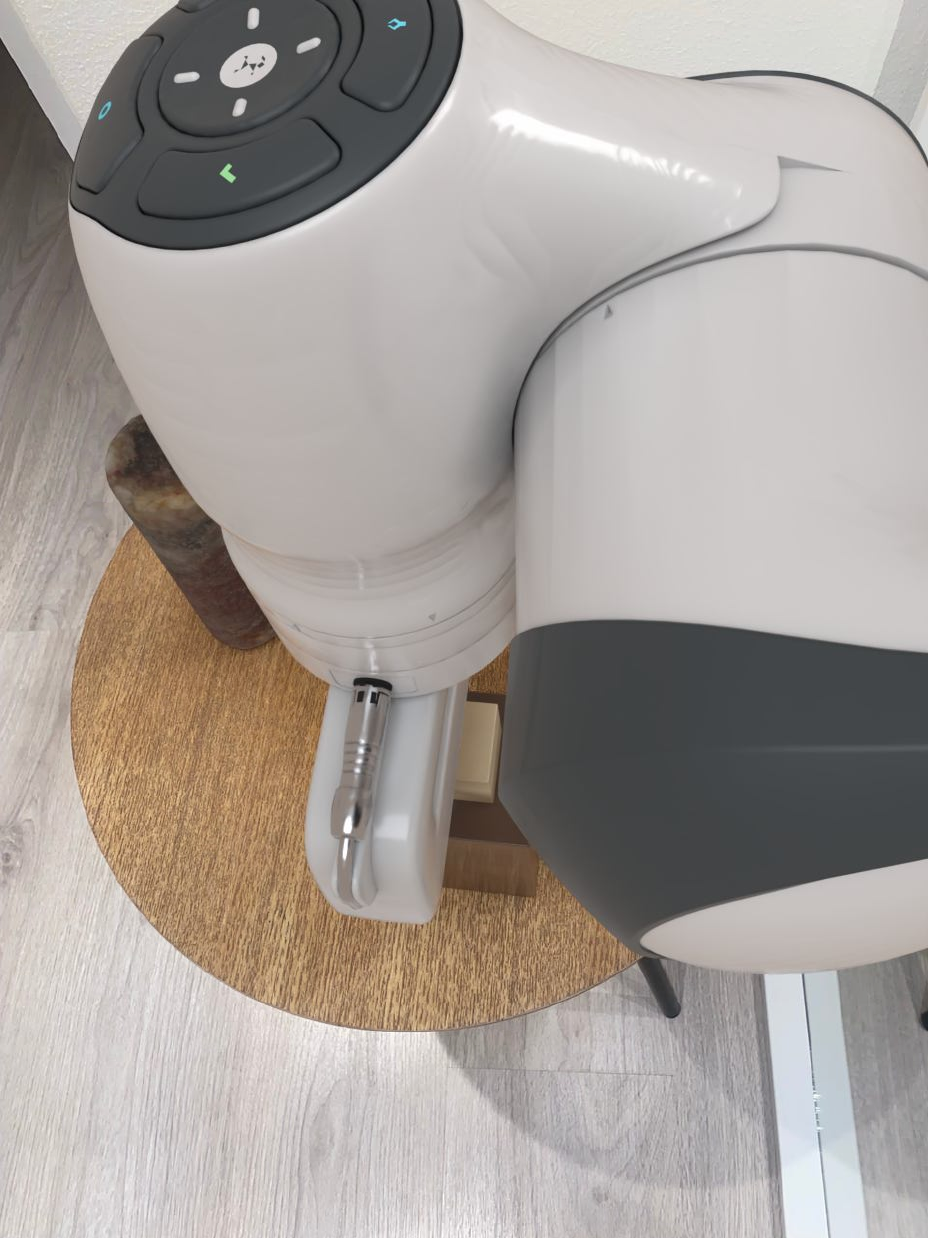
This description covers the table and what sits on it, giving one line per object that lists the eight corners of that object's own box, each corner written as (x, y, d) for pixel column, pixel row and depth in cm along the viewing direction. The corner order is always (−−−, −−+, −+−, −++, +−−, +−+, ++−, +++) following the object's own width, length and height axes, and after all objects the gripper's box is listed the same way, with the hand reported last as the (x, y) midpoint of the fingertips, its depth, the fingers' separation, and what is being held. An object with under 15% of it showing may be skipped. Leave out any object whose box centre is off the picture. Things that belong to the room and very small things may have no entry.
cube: (501, 729, 51) (497, 703, 48) (493, 803, 50) (488, 782, 46) (427, 722, 52) (417, 696, 48) (416, 795, 50) (405, 774, 47)
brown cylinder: (275, 547, 76) (188, 383, 58) (323, 616, 73) (246, 466, 55) (190, 599, 75) (73, 449, 56) (235, 671, 72) (127, 537, 54)
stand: (546, 778, 66) (543, 696, 52) (535, 898, 63) (528, 847, 49) (430, 767, 67) (396, 684, 53) (413, 884, 64) (372, 830, 50)
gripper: (451, 905, 25) (484, 959, 38) (527, 297, 34) (533, 507, 46) (217, 878, 26) (325, 940, 38) (349, 290, 34) (402, 498, 47)
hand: (439, 700), depth 42 cm, fingers open, 8 cm apart
